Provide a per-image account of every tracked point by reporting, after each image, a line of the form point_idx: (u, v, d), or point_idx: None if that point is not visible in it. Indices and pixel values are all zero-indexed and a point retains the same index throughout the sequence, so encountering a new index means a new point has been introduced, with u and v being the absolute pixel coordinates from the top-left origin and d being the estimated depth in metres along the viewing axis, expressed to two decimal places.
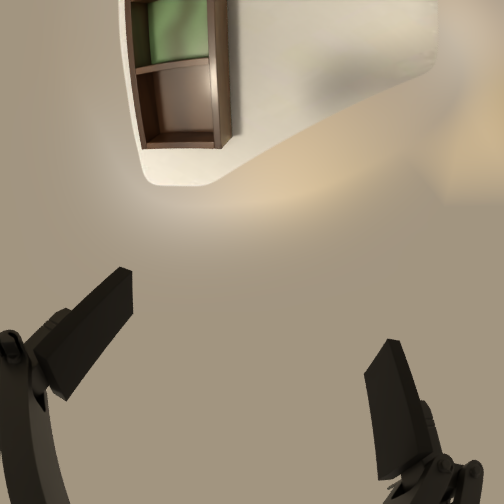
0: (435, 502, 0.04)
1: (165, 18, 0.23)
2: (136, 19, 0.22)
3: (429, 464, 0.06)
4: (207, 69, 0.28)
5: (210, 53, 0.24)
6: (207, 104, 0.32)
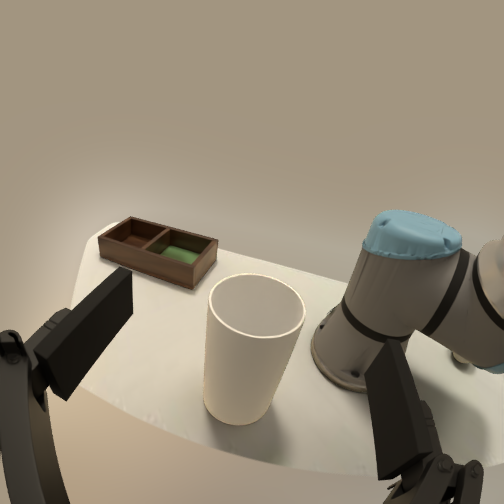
0: (435, 502, 0.04)
1: (191, 258, 0.54)
2: (200, 242, 0.55)
3: (429, 464, 0.06)
4: None
5: (145, 250, 0.47)
6: None
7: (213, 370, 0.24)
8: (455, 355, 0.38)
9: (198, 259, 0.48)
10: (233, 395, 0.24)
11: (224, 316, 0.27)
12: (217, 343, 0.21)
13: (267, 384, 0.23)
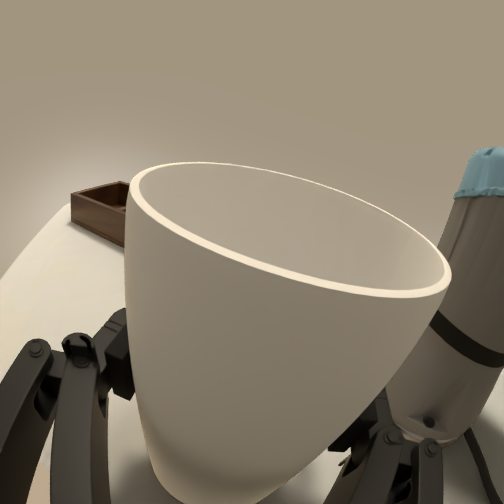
0: (388, 478, 0.05)
1: None
2: None
3: (373, 438, 0.07)
4: None
5: (122, 211, 0.33)
6: None
7: (142, 410, 0.07)
8: None
9: None
10: (194, 479, 0.07)
11: None
12: (134, 321, 0.05)
13: (294, 469, 0.07)
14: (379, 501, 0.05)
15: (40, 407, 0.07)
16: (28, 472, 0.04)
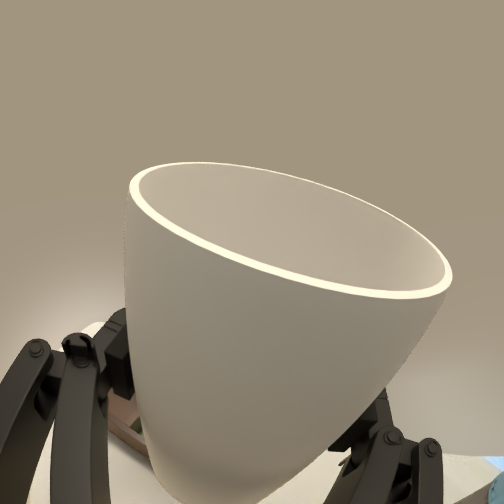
0: (388, 478, 0.05)
1: None
2: None
3: (373, 438, 0.07)
4: None
5: (131, 430, 0.23)
6: None
7: (142, 411, 0.07)
8: None
9: None
10: (194, 480, 0.07)
11: None
12: (133, 321, 0.05)
13: (294, 470, 0.06)
14: (379, 501, 0.05)
15: (40, 407, 0.07)
16: (28, 472, 0.04)
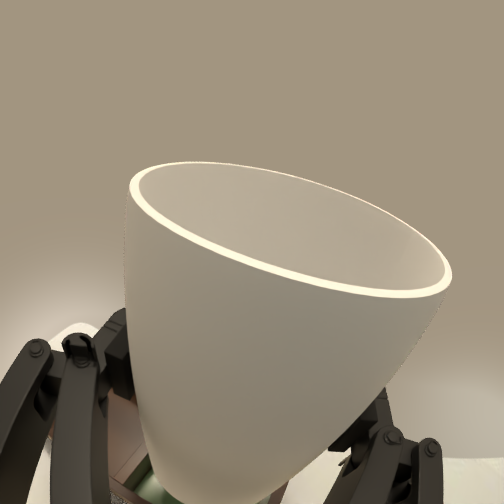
0: (388, 478, 0.05)
1: None
2: None
3: (373, 438, 0.07)
4: None
5: (126, 490, 0.12)
6: None
7: (142, 410, 0.07)
8: None
9: None
10: (194, 480, 0.07)
11: None
12: (133, 321, 0.05)
13: (294, 470, 0.07)
14: (379, 501, 0.05)
15: (40, 407, 0.07)
16: (28, 473, 0.04)
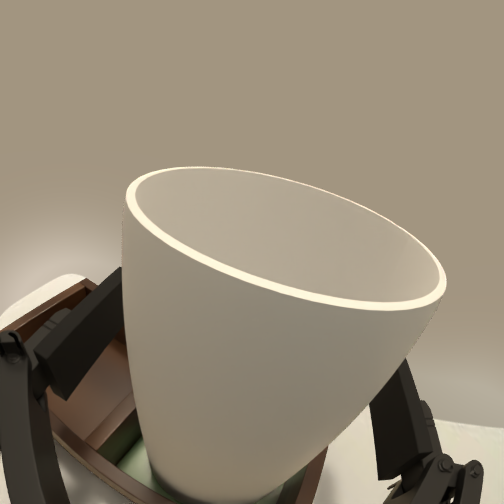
0: (435, 502, 0.04)
1: None
2: None
3: (429, 464, 0.06)
4: None
5: (100, 459, 0.09)
6: None
7: (140, 412, 0.07)
8: None
9: None
10: (192, 480, 0.07)
11: None
12: (131, 327, 0.05)
13: (289, 472, 0.07)
14: None
15: None
16: None
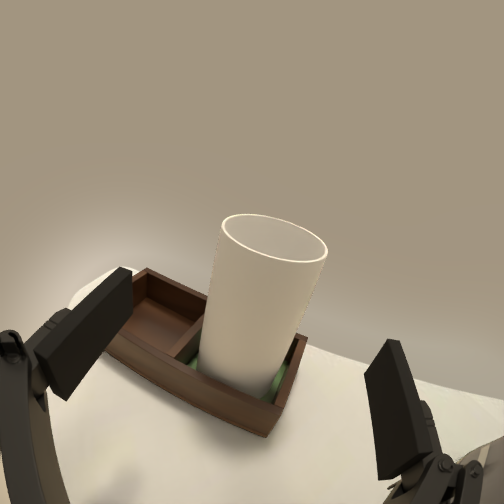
0: (435, 502, 0.04)
1: None
2: None
3: (429, 464, 0.06)
4: None
5: (176, 362, 0.22)
6: None
7: (213, 316, 0.21)
8: None
9: (285, 390, 0.22)
10: (233, 352, 0.21)
11: None
12: (224, 272, 0.19)
13: (275, 341, 0.20)
14: None
15: None
16: None
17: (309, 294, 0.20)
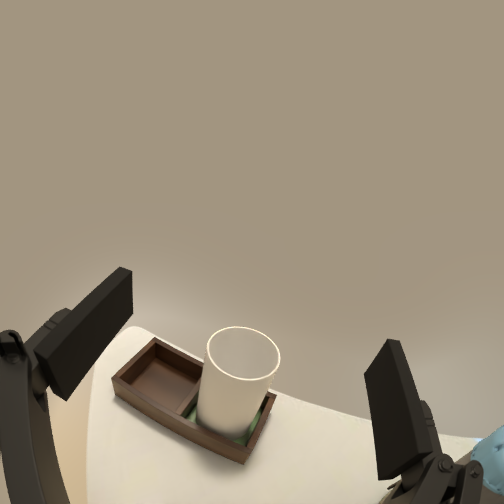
0: (435, 502, 0.04)
1: None
2: None
3: (429, 464, 0.06)
4: None
5: (182, 418, 0.31)
6: (149, 397, 0.36)
7: (205, 396, 0.29)
8: None
9: (255, 437, 0.30)
10: (218, 417, 0.29)
11: (219, 356, 0.33)
12: (209, 377, 0.27)
13: (245, 412, 0.29)
14: None
15: None
16: None
17: (266, 388, 0.28)
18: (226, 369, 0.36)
